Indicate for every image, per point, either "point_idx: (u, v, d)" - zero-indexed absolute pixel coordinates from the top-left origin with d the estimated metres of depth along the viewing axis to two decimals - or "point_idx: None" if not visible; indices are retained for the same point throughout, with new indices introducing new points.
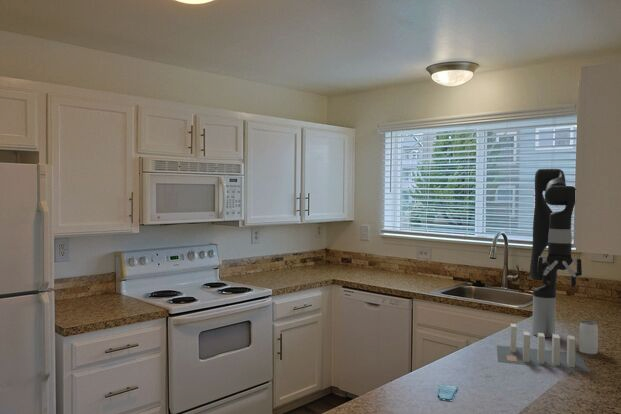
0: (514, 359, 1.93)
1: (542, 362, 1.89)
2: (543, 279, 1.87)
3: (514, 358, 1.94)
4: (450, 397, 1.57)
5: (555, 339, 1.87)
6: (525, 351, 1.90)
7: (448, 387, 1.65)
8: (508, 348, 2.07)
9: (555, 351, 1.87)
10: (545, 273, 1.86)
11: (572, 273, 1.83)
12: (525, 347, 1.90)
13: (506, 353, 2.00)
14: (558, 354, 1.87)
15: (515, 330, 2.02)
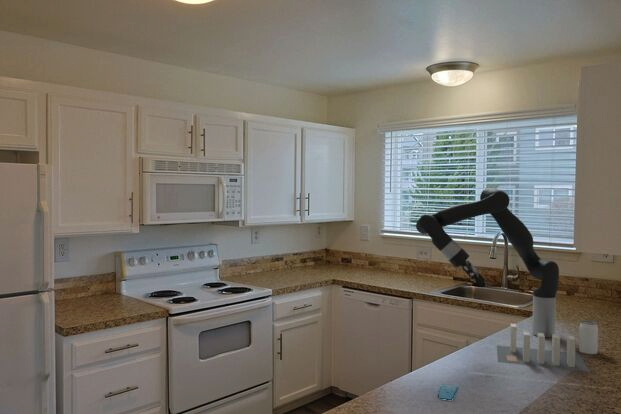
0: (514, 359, 1.93)
1: (542, 362, 1.89)
2: None
3: (514, 358, 1.94)
4: (450, 397, 1.57)
5: (555, 339, 1.87)
6: (525, 351, 1.90)
7: (448, 387, 1.65)
8: (508, 348, 2.07)
9: (555, 351, 1.87)
10: None
11: None
12: (525, 347, 1.90)
13: (506, 353, 2.00)
14: (558, 354, 1.87)
15: (515, 330, 2.02)
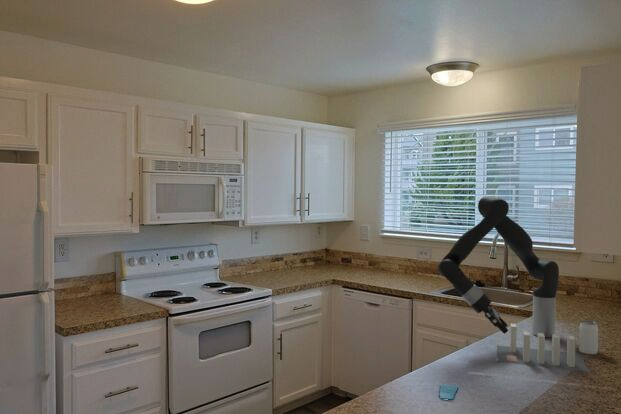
0: (514, 359, 1.93)
1: (542, 362, 1.89)
2: None
3: (514, 358, 1.94)
4: (451, 397, 1.57)
5: (555, 339, 1.87)
6: (525, 351, 1.90)
7: (449, 387, 1.65)
8: (508, 348, 2.07)
9: (555, 351, 1.87)
10: None
11: None
12: (525, 347, 1.90)
13: (506, 353, 2.00)
14: (558, 354, 1.87)
15: (515, 330, 2.02)
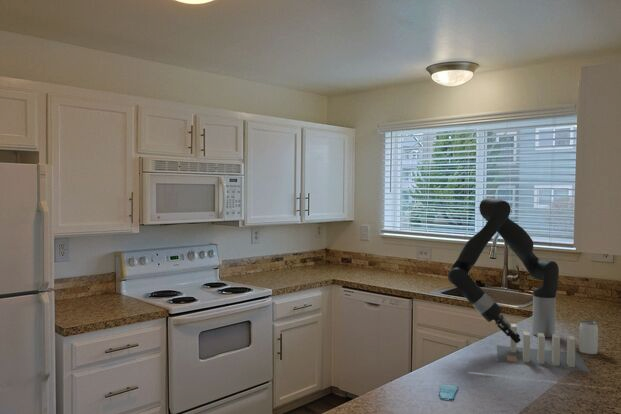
0: (514, 359, 1.93)
1: (542, 362, 1.89)
2: None
3: (514, 358, 1.94)
4: (451, 397, 1.57)
5: (555, 339, 1.87)
6: (525, 351, 1.90)
7: (449, 387, 1.65)
8: (508, 348, 2.07)
9: (555, 351, 1.87)
10: (507, 330, 2.08)
11: (506, 333, 2.02)
12: (525, 347, 1.90)
13: (506, 353, 2.00)
14: (558, 354, 1.87)
15: (515, 330, 2.02)
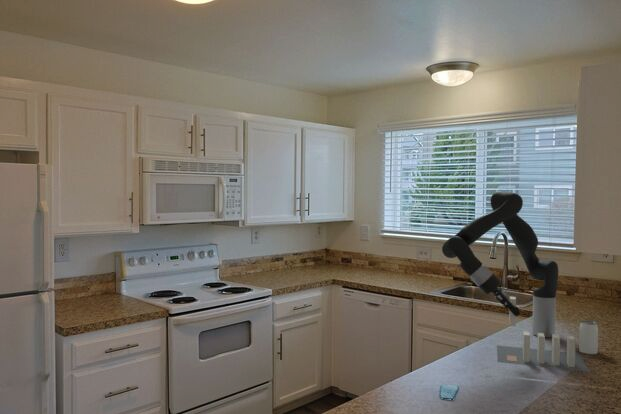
0: (514, 359, 1.93)
1: (542, 362, 1.89)
2: None
3: (514, 358, 1.94)
4: (451, 396, 1.57)
5: (555, 339, 1.87)
6: (525, 351, 1.90)
7: (449, 387, 1.65)
8: (508, 348, 2.07)
9: (555, 351, 1.87)
10: (506, 304, 1.97)
11: None
12: (525, 347, 1.90)
13: (506, 353, 2.00)
14: (558, 354, 1.87)
15: (515, 302, 1.91)
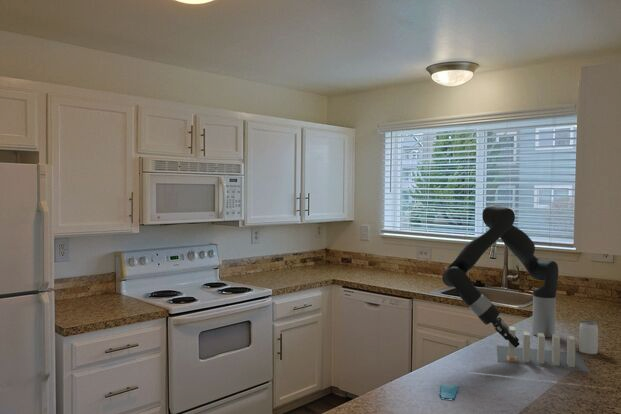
0: (514, 359, 1.93)
1: (542, 362, 1.89)
2: None
3: (514, 358, 1.94)
4: (452, 396, 1.57)
5: (555, 339, 1.87)
6: (525, 351, 1.90)
7: (450, 387, 1.65)
8: (508, 348, 2.07)
9: (555, 351, 1.87)
10: (505, 334, 1.98)
11: None
12: (525, 347, 1.90)
13: (506, 353, 2.00)
14: (558, 354, 1.87)
15: (514, 333, 1.91)
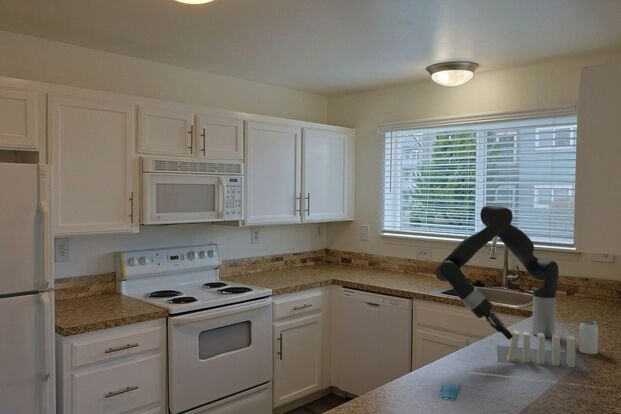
0: None
1: (542, 362, 1.89)
2: None
3: None
4: (453, 396, 1.58)
5: (555, 339, 1.87)
6: (525, 351, 1.90)
7: (451, 386, 1.66)
8: (508, 348, 2.07)
9: (555, 351, 1.87)
10: None
11: None
12: (525, 347, 1.90)
13: (506, 353, 2.00)
14: (558, 354, 1.87)
15: (518, 337, 1.91)
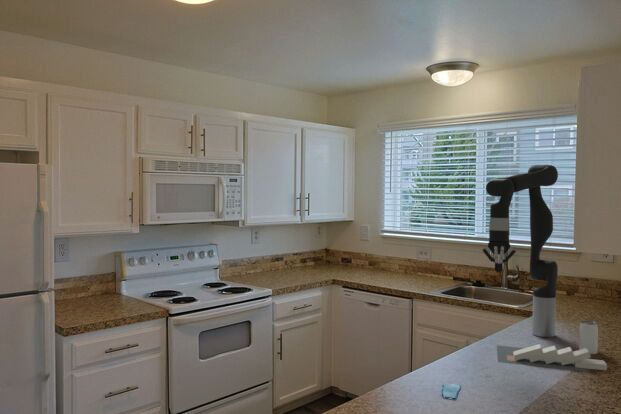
0: (514, 359, 1.93)
1: (546, 362, 1.88)
2: (495, 266, 2.06)
3: (514, 358, 1.94)
4: (454, 396, 1.58)
5: (587, 353, 1.84)
6: (539, 355, 1.89)
7: (452, 386, 1.66)
8: (508, 348, 2.07)
9: (574, 357, 1.85)
10: (496, 261, 2.05)
11: (501, 259, 2.05)
12: (543, 354, 1.88)
13: (506, 353, 2.00)
14: (573, 361, 1.85)
15: (539, 353, 1.89)
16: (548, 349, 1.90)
